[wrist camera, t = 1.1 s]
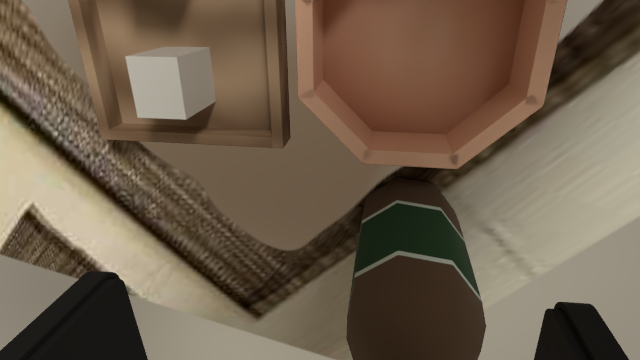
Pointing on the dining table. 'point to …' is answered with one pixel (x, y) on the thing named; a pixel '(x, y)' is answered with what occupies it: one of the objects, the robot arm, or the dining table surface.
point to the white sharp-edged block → (171, 82)
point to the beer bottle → (413, 280)
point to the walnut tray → (226, 59)
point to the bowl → (424, 73)
